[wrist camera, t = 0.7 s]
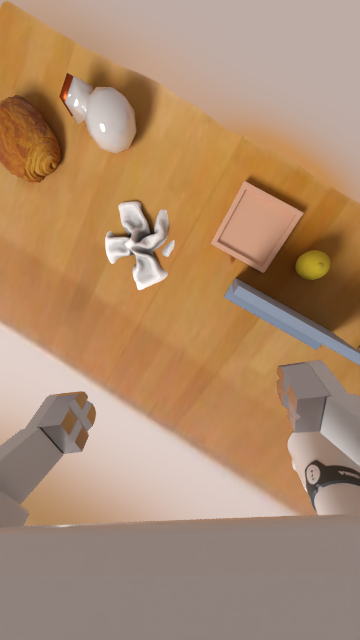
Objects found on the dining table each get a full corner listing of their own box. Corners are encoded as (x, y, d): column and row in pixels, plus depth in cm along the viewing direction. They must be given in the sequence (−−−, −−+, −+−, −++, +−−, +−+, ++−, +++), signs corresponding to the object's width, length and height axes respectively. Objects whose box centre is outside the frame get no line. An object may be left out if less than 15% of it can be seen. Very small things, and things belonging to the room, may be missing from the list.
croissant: (38, 99, 50) (1, 66, 42) (74, 155, 49) (44, 131, 42) (3, 148, 54) (-36, 125, 46) (36, 199, 54) (2, 185, 46)
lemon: (304, 245, 45) (320, 243, 37) (326, 261, 45) (345, 262, 37) (285, 267, 47) (295, 269, 39) (305, 283, 47) (320, 288, 39)
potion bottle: (143, 159, 48) (93, 123, 50) (150, 100, 40) (90, 60, 41) (111, 168, 43) (57, 128, 44) (112, 102, 35) (46, 57, 36)
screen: (330, 330, 48) (368, 358, 35) (315, 348, 50) (346, 381, 37) (235, 277, 49) (238, 285, 36) (223, 296, 51) (222, 310, 38)
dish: (300, 214, 43) (303, 212, 42) (262, 272, 48) (263, 273, 46) (243, 183, 44) (244, 180, 42) (211, 244, 48) (210, 243, 47)
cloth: (156, 299, 55) (147, 305, 50) (95, 261, 56) (80, 262, 50) (202, 216, 48) (198, 210, 42) (131, 172, 48) (118, 160, 42)
